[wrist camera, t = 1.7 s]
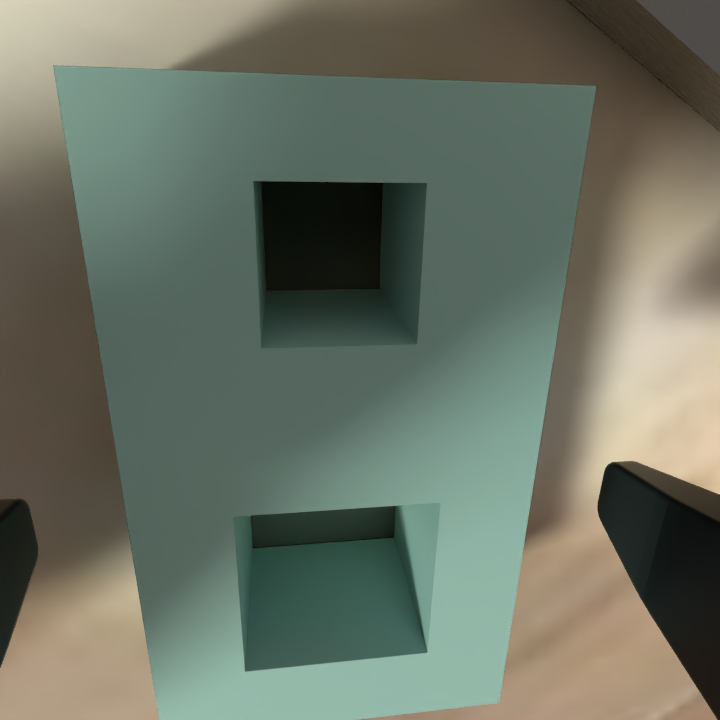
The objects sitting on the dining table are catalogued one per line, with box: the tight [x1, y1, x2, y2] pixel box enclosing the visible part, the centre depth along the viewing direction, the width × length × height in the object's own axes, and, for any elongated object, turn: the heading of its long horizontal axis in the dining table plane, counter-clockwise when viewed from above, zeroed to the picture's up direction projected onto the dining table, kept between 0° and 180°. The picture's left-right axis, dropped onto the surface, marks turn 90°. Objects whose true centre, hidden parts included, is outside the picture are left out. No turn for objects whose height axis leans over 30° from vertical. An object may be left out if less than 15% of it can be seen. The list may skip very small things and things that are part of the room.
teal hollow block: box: [53, 65, 597, 720], centre depth 11 cm, size 12×7×4 cm, turn 179°
